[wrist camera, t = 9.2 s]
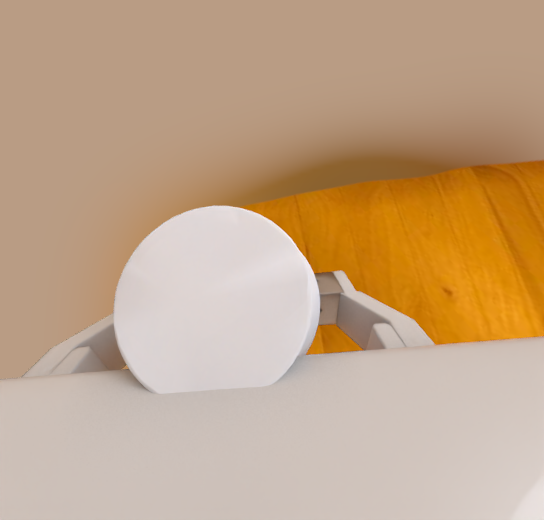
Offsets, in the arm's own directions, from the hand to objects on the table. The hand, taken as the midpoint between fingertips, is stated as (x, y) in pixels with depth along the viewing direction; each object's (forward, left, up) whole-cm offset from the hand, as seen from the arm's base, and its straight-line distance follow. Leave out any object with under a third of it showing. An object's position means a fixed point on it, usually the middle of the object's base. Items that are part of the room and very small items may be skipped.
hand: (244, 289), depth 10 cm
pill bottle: (0, -1, -7) cm, 7 cm away
